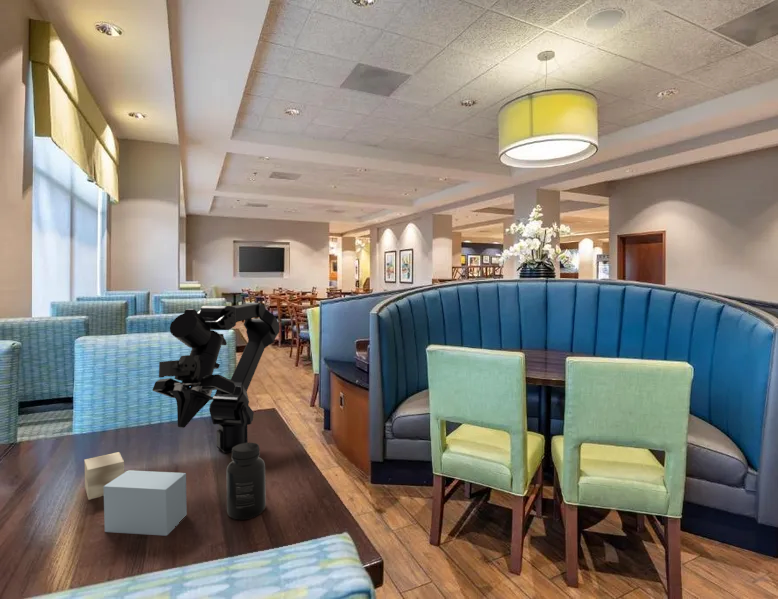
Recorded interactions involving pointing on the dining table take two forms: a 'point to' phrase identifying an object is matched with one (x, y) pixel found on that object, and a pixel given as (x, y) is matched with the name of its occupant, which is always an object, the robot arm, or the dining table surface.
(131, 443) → the dining table surface
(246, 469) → the supplement bottle
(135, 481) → the gray block
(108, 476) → the birch cube
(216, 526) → the dining table surface
